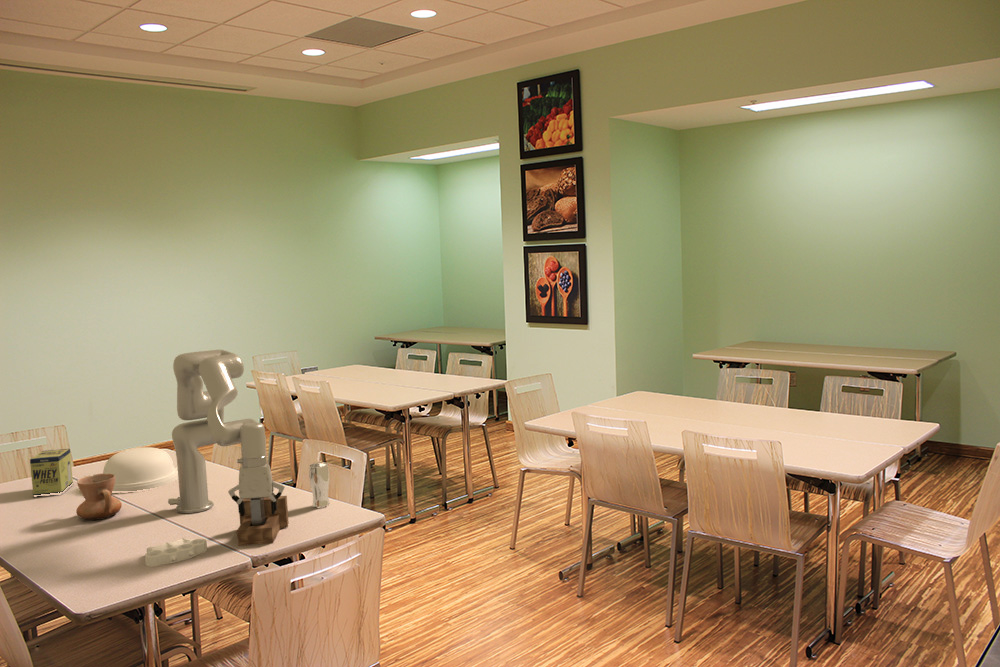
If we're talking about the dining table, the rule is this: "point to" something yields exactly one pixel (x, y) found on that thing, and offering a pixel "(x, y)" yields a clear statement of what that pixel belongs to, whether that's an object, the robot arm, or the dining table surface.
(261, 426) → the robot arm
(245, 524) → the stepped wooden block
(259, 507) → the grey rectangular block
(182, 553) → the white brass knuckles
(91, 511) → the ceramic jug
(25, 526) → the dining table surface
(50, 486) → the protein box
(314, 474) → the beer glass
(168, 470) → the dome cover
